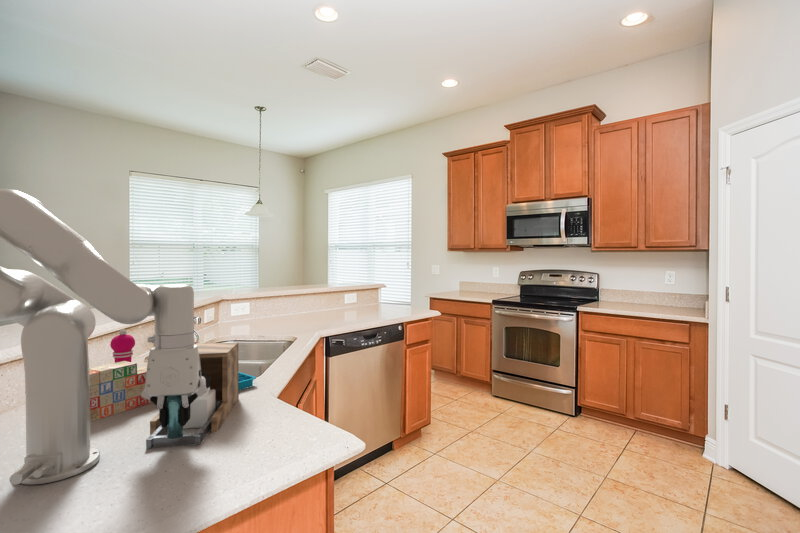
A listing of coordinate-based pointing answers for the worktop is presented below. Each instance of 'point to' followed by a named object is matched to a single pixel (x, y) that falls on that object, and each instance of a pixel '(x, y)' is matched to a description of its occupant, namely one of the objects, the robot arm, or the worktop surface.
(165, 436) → the frame
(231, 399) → the shelf lane
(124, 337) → the pepper mill
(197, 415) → the medicine bottle
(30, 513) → the worktop surface
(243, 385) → the ice cube tray
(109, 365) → the stack of blocks
